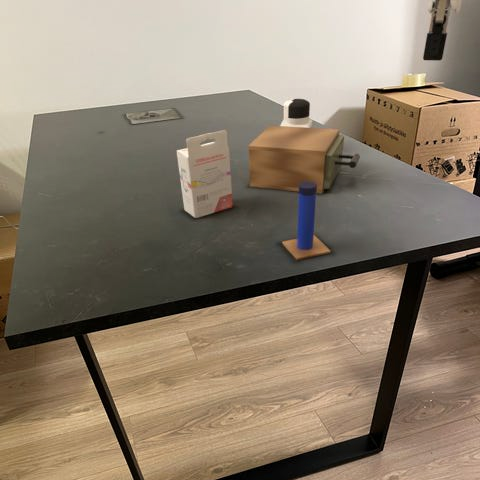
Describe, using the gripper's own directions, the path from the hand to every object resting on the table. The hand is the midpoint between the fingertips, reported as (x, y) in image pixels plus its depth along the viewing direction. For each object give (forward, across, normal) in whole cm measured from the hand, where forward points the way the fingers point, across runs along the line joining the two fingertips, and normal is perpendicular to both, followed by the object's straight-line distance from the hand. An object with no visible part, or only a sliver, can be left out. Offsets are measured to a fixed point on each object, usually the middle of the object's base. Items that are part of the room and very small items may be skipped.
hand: (432, 59), depth 83 cm
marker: (+23, -32, +14) cm, 42 cm away
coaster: (+23, -32, +14) cm, 42 cm away
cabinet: (+23, -2, +24) cm, 33 cm away
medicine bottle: (+23, +14, +28) cm, 39 cm away
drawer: (+22, -2, +20) cm, 30 cm away
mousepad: (+23, +33, +83) cm, 92 cm away
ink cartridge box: (+23, -22, +36) cm, 48 cm away
